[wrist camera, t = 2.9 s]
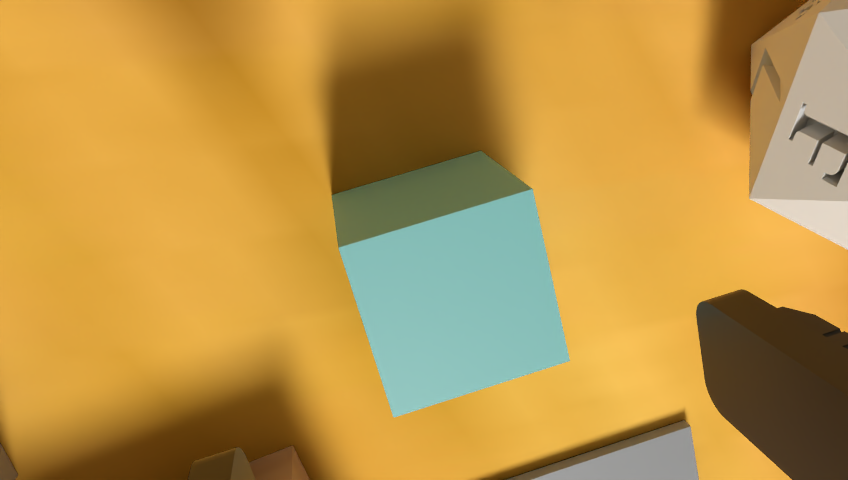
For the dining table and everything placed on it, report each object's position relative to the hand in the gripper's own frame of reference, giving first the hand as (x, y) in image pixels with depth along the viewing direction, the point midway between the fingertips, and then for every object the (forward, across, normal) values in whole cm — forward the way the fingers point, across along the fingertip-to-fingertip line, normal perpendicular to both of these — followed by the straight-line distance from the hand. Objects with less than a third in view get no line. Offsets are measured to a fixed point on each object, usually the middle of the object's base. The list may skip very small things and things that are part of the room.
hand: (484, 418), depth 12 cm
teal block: (+10, -1, 0) cm, 10 cm away
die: (+10, -14, -1) cm, 17 cm away
